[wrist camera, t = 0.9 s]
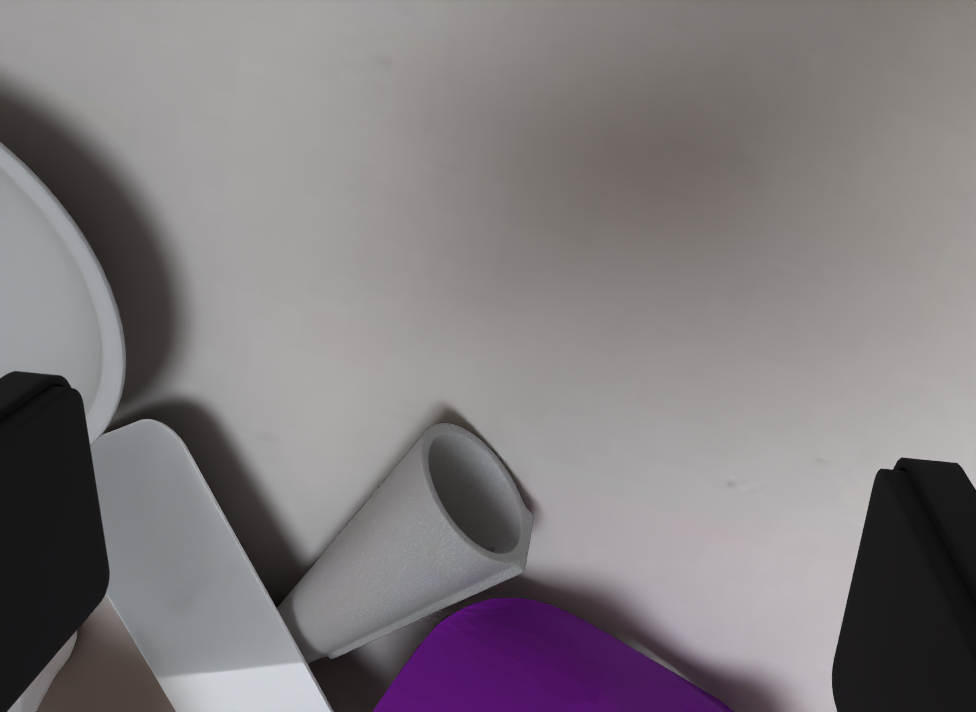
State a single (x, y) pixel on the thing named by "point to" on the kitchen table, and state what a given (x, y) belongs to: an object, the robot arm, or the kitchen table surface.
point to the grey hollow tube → (413, 547)
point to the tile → (191, 583)
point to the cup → (43, 680)
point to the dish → (56, 297)
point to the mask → (534, 667)
